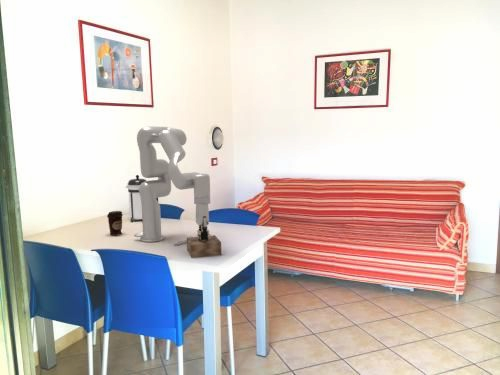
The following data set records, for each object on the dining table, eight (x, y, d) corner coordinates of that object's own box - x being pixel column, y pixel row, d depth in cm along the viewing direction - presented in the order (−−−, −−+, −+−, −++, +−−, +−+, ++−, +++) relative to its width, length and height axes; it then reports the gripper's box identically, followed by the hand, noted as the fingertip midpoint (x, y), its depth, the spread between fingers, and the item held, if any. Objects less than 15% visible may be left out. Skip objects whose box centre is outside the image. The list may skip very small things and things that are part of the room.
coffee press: (139, 223, 259) (137, 176, 255) (122, 220, 268) (120, 175, 264) (159, 218, 273) (157, 174, 270) (143, 216, 282) (141, 173, 278)
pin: (198, 248, 190) (198, 232, 189) (196, 245, 195) (196, 229, 194) (210, 247, 191) (210, 231, 190) (208, 244, 196) (208, 228, 196)
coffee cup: (127, 233, 232) (126, 211, 231) (116, 236, 225) (115, 213, 223) (115, 232, 236) (114, 210, 235) (105, 235, 229) (103, 212, 227)
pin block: (191, 257, 185) (190, 244, 184) (187, 249, 198) (186, 237, 197) (221, 254, 189) (221, 242, 188) (215, 247, 202) (215, 235, 201)
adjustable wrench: (176, 247, 204) (175, 244, 204) (168, 245, 208) (168, 242, 208) (212, 237, 222) (212, 234, 222) (205, 235, 227) (205, 232, 226)
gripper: (191, 198, 197) (192, 234, 200) (197, 203, 181) (198, 243, 183) (206, 197, 199) (207, 233, 202) (213, 202, 183) (214, 242, 185)
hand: (203, 237), depth 193 cm, fingers closed on pin, 5 cm apart
